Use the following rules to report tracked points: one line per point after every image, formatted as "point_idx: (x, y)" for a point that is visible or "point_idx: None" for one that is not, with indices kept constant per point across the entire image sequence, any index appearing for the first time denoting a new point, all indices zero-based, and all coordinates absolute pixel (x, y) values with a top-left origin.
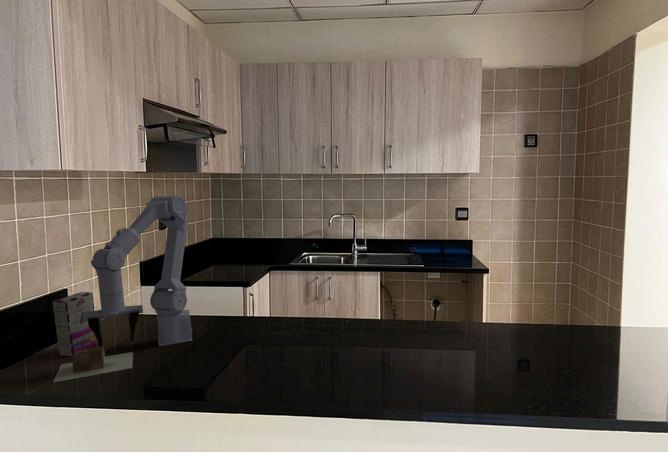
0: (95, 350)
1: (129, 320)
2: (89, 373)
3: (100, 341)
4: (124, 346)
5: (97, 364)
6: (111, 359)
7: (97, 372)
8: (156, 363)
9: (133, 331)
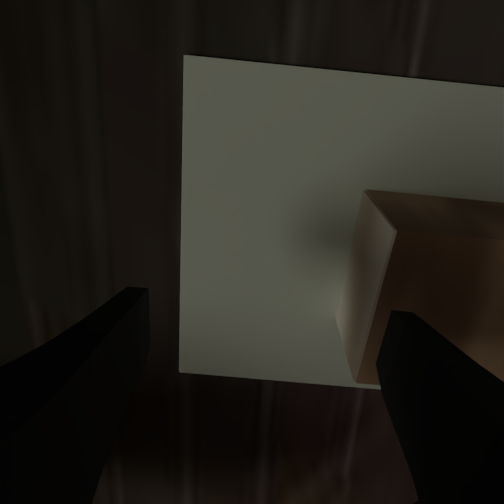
0: None
1: (3, 432)
2: (463, 136)
3: (420, 334)
4: (221, 476)
5: (409, 203)
6: (300, 320)
7: (415, 119)
8: (14, 59)
9: (71, 332)
